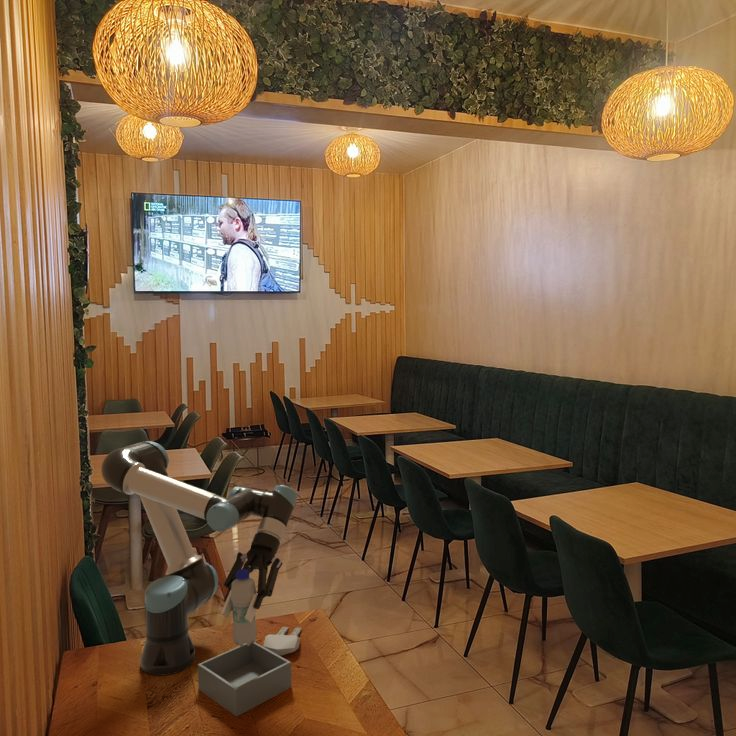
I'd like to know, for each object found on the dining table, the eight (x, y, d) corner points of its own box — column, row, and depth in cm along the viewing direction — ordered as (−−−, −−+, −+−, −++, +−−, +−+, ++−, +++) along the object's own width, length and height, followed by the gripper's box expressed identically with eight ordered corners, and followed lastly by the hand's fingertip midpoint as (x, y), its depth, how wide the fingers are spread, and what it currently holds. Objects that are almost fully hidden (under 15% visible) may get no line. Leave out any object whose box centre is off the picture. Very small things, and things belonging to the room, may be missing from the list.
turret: (307, 637, 204) (307, 622, 204) (293, 660, 184) (293, 643, 184) (277, 636, 205) (277, 620, 205) (259, 658, 185) (260, 641, 185)
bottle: (252, 650, 166) (249, 575, 165) (228, 647, 167) (225, 573, 166) (261, 637, 173) (259, 565, 171) (238, 635, 174) (235, 564, 173)
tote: (198, 689, 171) (197, 664, 170) (252, 663, 183) (251, 640, 183) (236, 716, 159) (235, 689, 158) (291, 687, 171) (290, 662, 171)
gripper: (303, 547, 179) (274, 629, 165) (244, 539, 187) (212, 617, 173) (293, 535, 173) (262, 618, 160) (233, 527, 181) (198, 606, 168)
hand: (236, 617), depth 166 cm, fingers closed on bottle, 7 cm apart
